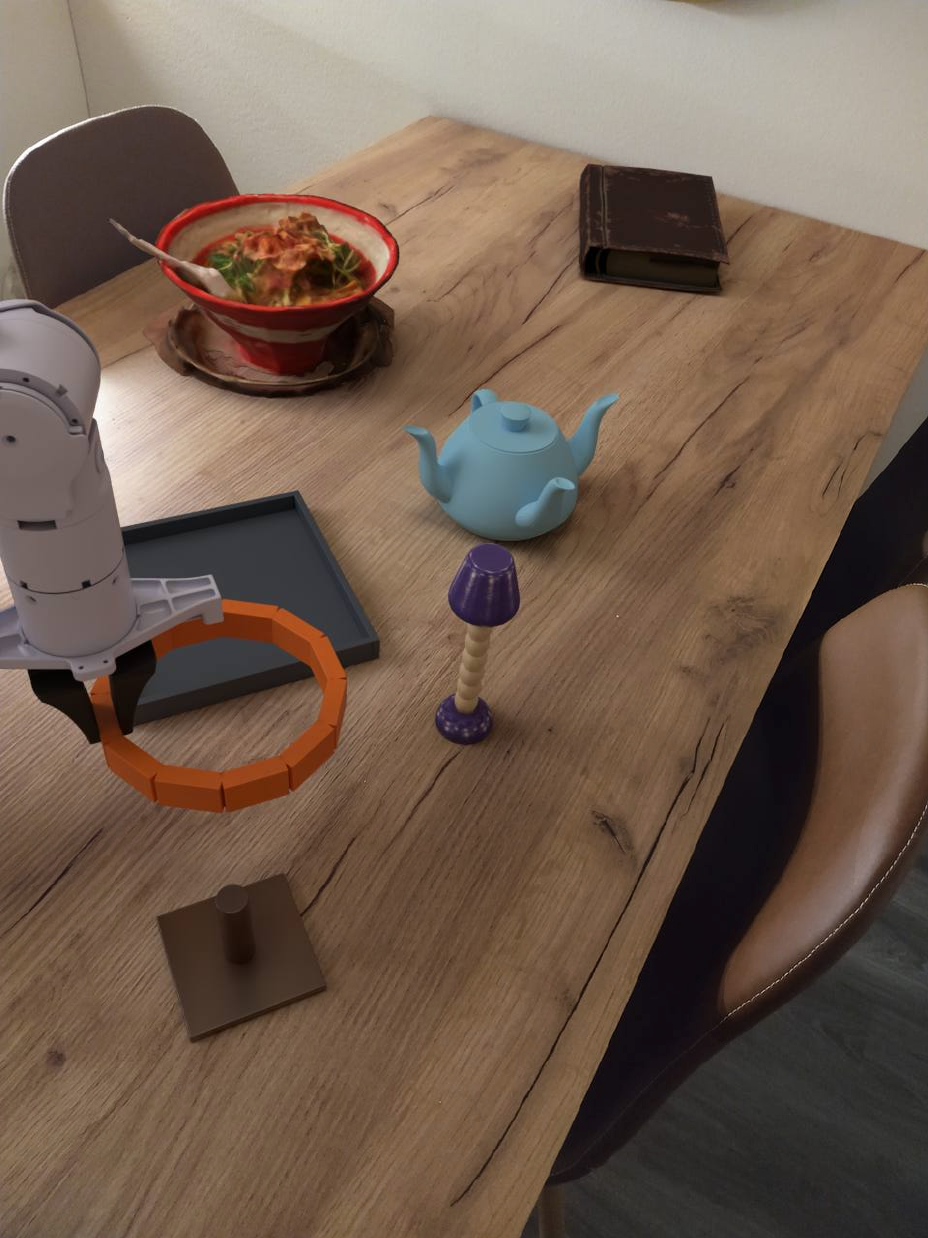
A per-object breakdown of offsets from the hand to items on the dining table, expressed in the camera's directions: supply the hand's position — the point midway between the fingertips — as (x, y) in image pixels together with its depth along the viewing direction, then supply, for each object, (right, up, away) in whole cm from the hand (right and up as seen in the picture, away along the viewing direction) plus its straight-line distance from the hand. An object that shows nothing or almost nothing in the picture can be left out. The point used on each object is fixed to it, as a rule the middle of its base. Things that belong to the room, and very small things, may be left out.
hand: (108, 726), depth 60 cm
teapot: (+25, +16, +32) cm, 44 cm away
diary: (+45, +56, +74) cm, 103 cm away
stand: (+8, -14, +1) cm, 16 cm away
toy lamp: (+21, -2, +15) cm, 26 cm away
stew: (+1, +34, +48) cm, 59 cm away
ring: (+6, +1, +3) cm, 7 cm away
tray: (+2, +7, +21) cm, 22 cm away
